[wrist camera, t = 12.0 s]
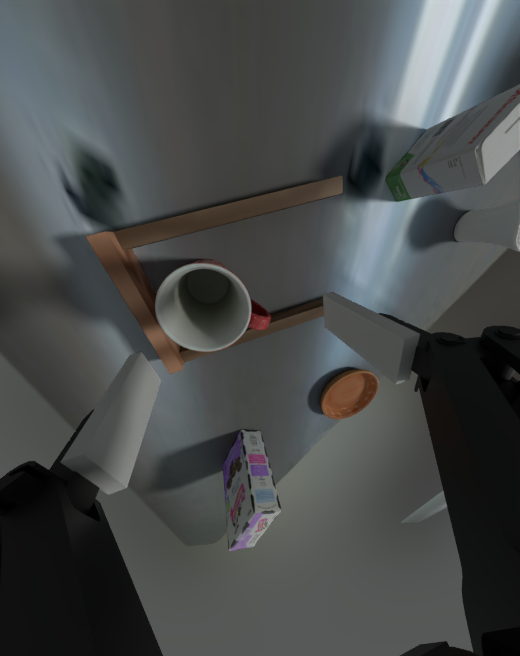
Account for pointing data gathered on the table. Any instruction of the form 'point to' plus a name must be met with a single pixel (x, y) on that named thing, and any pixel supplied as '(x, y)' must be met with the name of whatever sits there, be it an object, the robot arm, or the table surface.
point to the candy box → (248, 491)
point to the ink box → (461, 150)
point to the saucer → (348, 393)
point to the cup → (491, 226)
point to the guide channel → (119, 244)
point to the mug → (206, 307)
